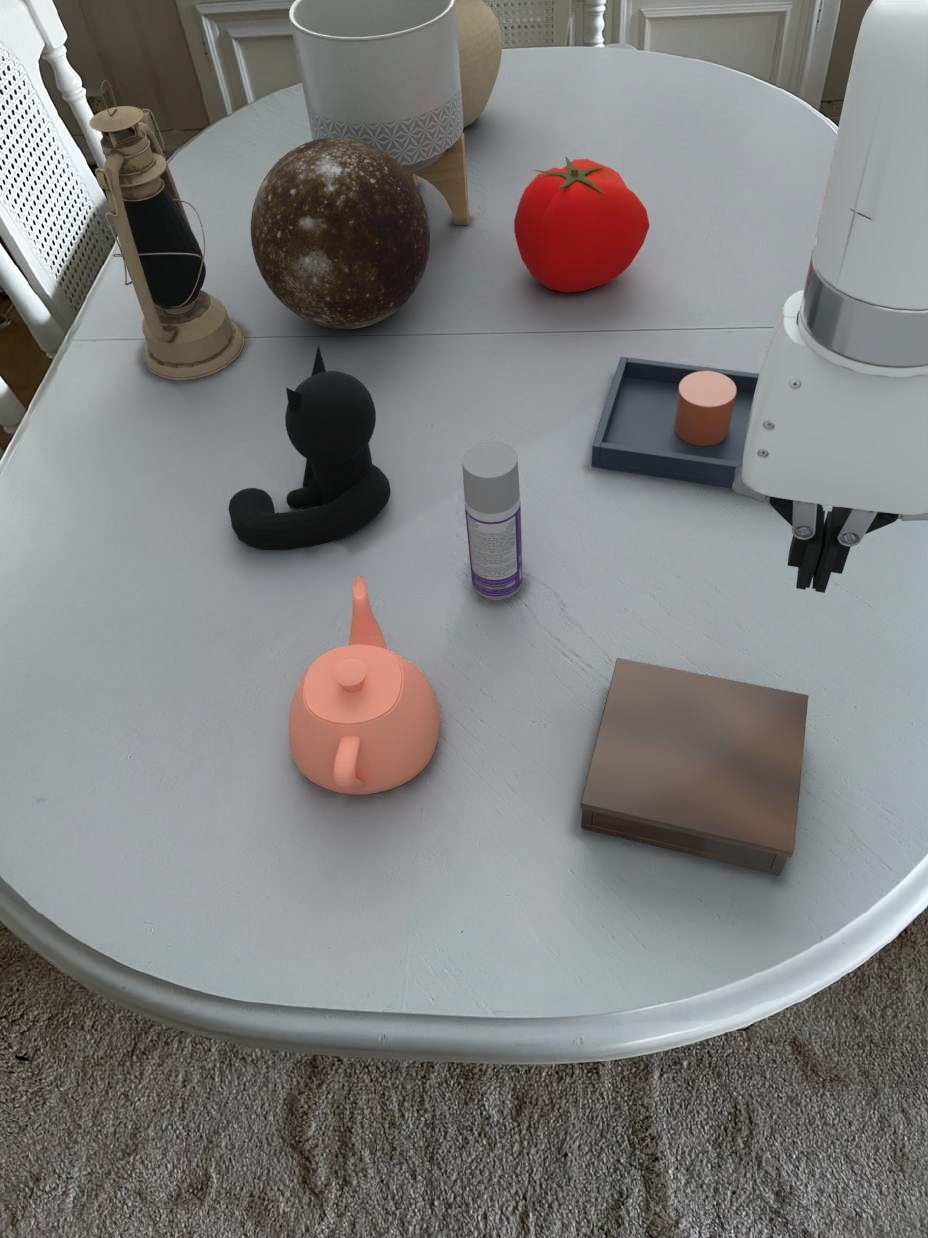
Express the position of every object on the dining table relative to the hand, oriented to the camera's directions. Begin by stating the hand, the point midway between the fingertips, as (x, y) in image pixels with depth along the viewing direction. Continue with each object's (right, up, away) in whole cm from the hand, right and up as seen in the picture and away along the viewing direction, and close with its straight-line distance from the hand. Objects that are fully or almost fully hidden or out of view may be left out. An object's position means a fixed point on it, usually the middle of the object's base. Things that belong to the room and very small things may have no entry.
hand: (811, 572), depth 57 cm
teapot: (-28, -12, +23) cm, 39 cm away
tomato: (-6, +39, +62) cm, 73 cm away
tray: (+4, +16, +43) cm, 46 cm away
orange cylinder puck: (+4, +17, +42) cm, 45 cm away
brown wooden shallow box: (-3, -15, +18) cm, 24 cm away
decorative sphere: (-34, +34, +60) cm, 77 cm away
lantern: (-52, +29, +58) cm, 84 cm away
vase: (-23, +72, +90) cm, 117 cm away
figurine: (-35, +8, +40) cm, 54 cm away
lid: (-3, -13, +15) cm, 20 cm away
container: (-17, +1, +32) cm, 37 cm away
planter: (-29, +50, +73) cm, 93 cm away
